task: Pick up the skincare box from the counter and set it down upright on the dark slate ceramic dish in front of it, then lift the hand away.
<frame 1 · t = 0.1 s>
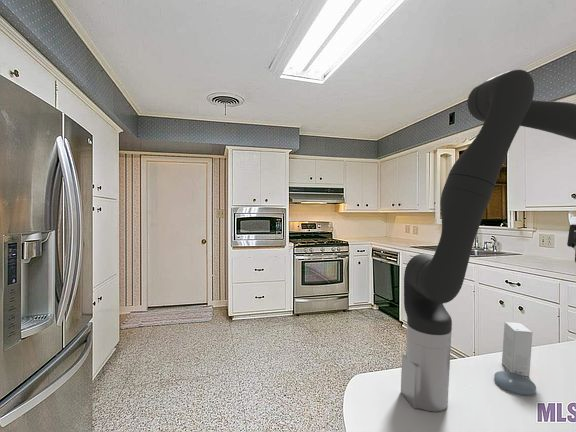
skincare box: (515, 370, 85), on the counter
slate dish: (514, 384, 78), on the counter
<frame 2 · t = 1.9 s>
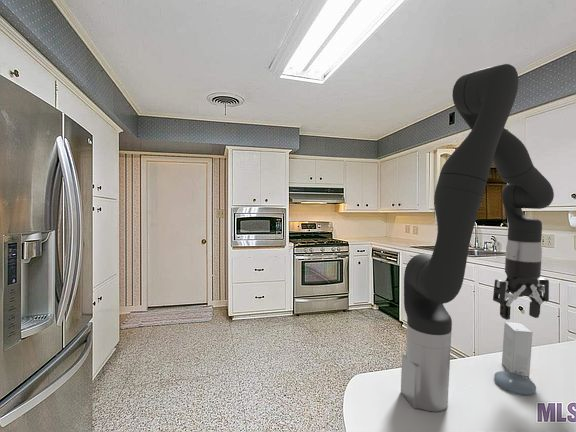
hand: (519, 317, 83), 14 cm above the counter, tool pointing down, fingers open, 8 cm apart
nothing on the counter moved.
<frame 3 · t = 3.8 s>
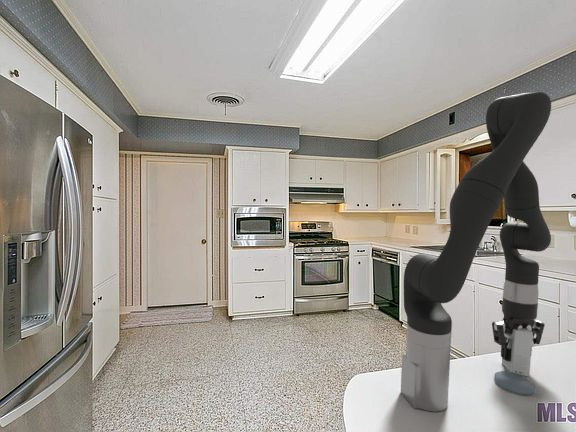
hand: (515, 359, 84), 3 cm above the counter, tool pointing down, fingers closed on skincare box, 5 cm apart
skincare box: (515, 370, 85), on the counter, touching gripper
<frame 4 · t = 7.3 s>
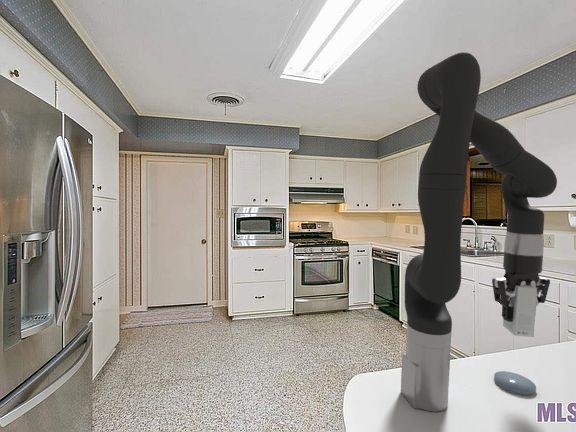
hand: (518, 319, 76), 17 cm above the counter, tool pointing down, fingers closed on skincare box, 5 cm apart
skincare box: (517, 332, 77), point 14 cm above the counter, touching gripper
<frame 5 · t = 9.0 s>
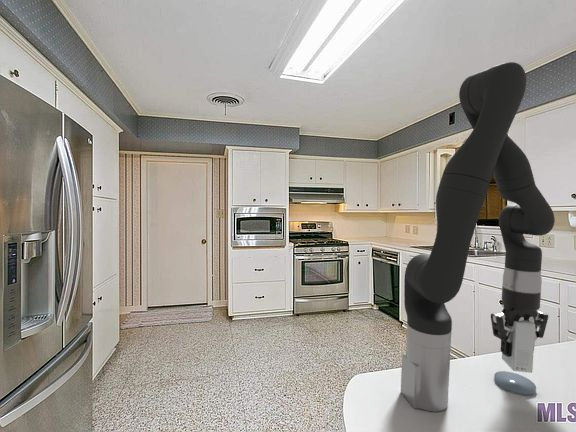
hand: (517, 354, 77), 8 cm above the counter, tool pointing down, fingers closed on skincare box, 5 cm apart
skincare box: (516, 366, 77), point 5 cm above the counter, touching gripper
when the fingers open (5 cm above the counter, at t = 10.6 s): skincare box drops 1 cm, resting on slate dish.
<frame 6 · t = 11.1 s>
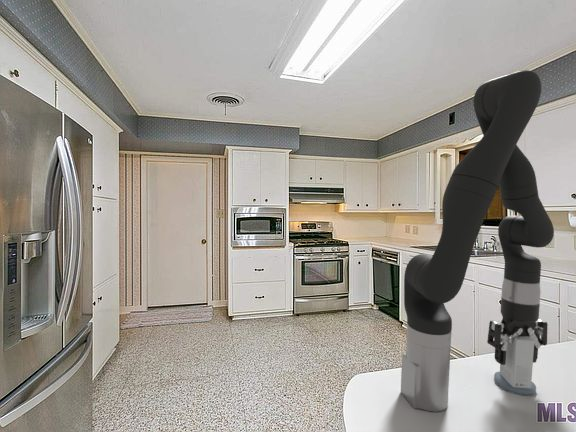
hand: (515, 362, 77), 6 cm above the counter, tool pointing down, fingers open, 8 cm apart
skincare box: (514, 381, 78), point 1 cm above the counter, touching slate dish
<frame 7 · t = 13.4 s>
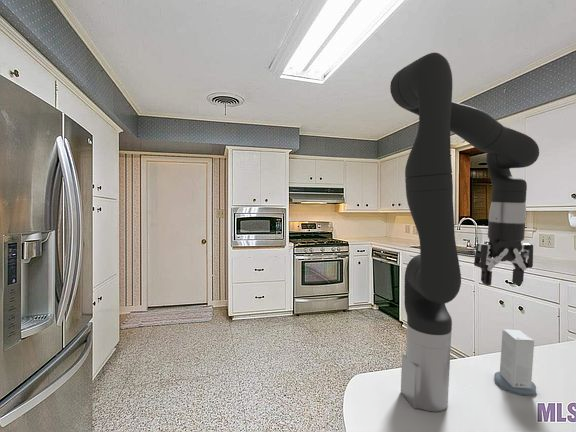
hand: (501, 284, 79), 24 cm above the counter, tool pointing down, fingers open, 8 cm apart
nothing on the counter moved.
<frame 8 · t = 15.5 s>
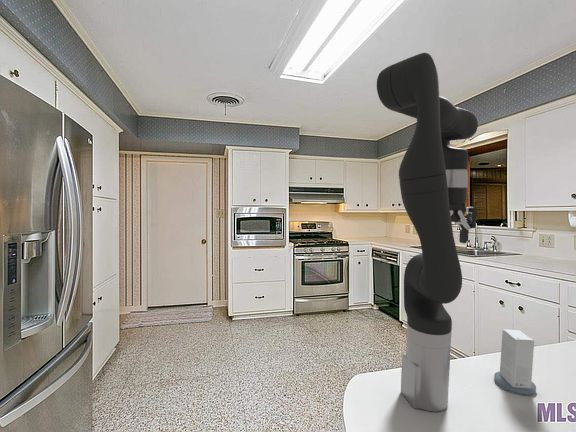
hand: (449, 243, 90), 33 cm above the counter, tool pointing down, fingers open, 8 cm apart
nothing on the counter moved.
at the end: skincare box 0.1 cm off-centre on the slate dish, point 0.8 cm above the slate dish's base; skincare box tilted 0°; the gripper is holding nothing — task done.
